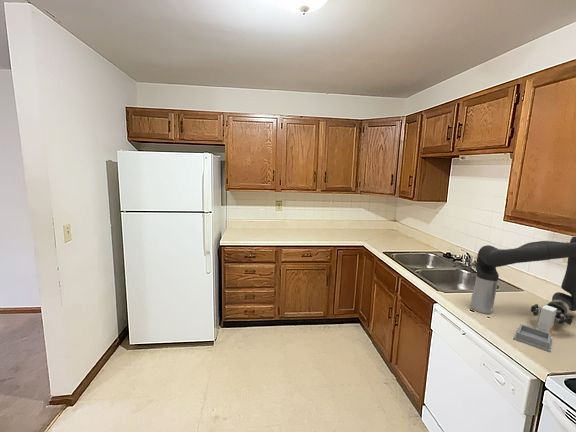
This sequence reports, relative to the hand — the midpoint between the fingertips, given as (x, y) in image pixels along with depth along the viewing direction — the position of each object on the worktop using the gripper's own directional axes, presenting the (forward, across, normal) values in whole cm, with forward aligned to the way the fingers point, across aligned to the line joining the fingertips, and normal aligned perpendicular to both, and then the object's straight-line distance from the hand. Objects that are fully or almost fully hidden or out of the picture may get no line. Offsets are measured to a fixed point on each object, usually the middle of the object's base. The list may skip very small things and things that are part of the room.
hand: (547, 317), depth 133 cm
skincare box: (0, 0, +7) cm, 7 cm away
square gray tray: (+12, -1, +7) cm, 14 cm away
